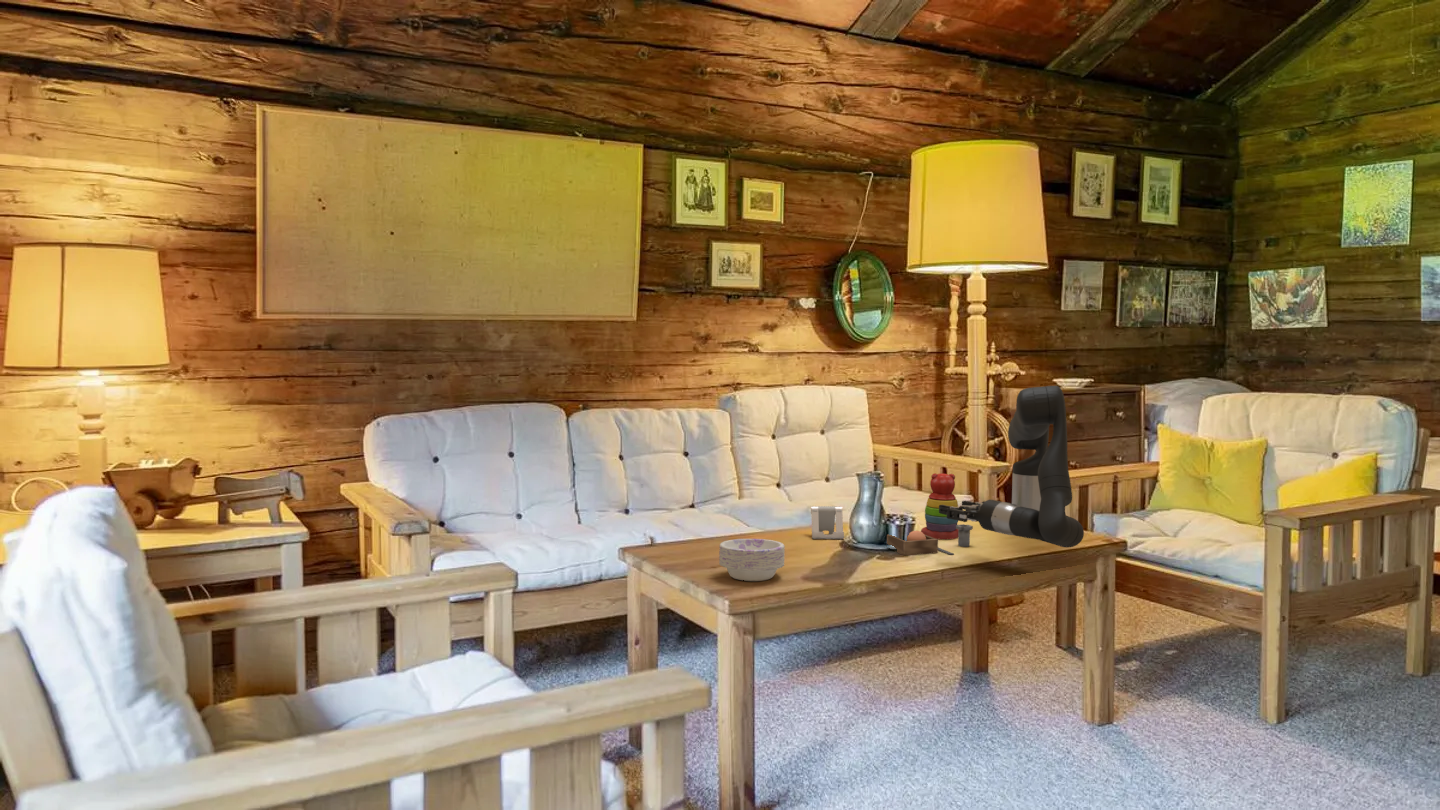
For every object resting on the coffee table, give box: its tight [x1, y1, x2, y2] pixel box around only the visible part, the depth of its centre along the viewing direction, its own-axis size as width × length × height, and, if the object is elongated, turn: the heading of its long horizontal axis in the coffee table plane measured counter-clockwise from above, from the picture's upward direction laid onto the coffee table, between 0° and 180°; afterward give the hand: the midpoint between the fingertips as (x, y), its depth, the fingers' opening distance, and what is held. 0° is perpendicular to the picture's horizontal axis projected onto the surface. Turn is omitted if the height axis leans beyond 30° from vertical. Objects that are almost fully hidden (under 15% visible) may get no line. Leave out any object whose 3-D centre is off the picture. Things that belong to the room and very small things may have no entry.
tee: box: [956, 524, 974, 548], centre depth 271 cm, size 4×4×5 cm
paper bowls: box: [718, 538, 786, 582], centre depth 237 cm, size 15×15×8 cm
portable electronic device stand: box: [810, 505, 845, 540], centre depth 282 cm, size 9×8×8 cm
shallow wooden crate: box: [886, 534, 939, 556], centre depth 266 cm, size 10×10×4 cm
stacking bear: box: [920, 472, 959, 541], centre depth 283 cm, size 11×10×18 cm
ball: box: [907, 530, 926, 541], centre depth 264 cm, size 5×5×5 cm
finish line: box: [938, 547, 955, 556], centre depth 268 cm, size 1×16×1 cm, turn 19°
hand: (951, 506), depth 258 cm, fingers open, 8 cm apart
